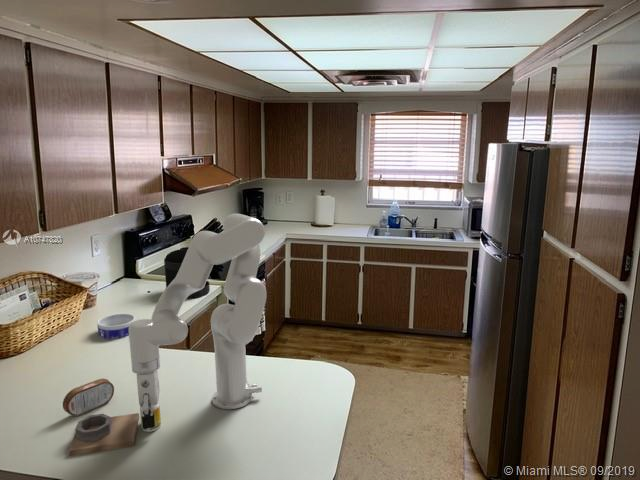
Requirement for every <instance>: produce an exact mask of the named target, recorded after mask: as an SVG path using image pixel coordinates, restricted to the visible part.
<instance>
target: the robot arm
mask: <svg viewBox="0 0 640 480" xmlns="http://www.w3.org/2000/svg"><path fill="white" fill-rule="evenodd" d="M222 225H223V227H222V228H223V231H222V232H219V233H216V232H213V231H210V230H201V231H198V232H197V233H195V234H194V236H193V238H192V239H191V241H190V243H189V246H188V247H189V248H188V250H187V253H186V255H185V257H184V260H183V262H182V264H181V267H180V269H179V271H178V274H177V276H176V277H175V279H174V280H173V281H172V282H171V283H170V284H169V286H168V287H167V288H166V287H165V289H164V290H163V291H162V293H161V295H160V297H159V298H158V301H157V302H156V305H155V308H154V310H153V312H152V316H151V319H149V318H142V319H138V320H136V321H134V322H133V323H131V324H130V326H129V336H128V340H129V341H128V342H129V351H130V359H131V360H130V362H131V371H132V372H133V374H136V384H137V395H138V404H139V407H140V406H141V407H142V424H143V429H147V428H154V427H155V418H154V414H153V405H157V404H158V402H159V401H160V392H161V389H160V379H159V371H158V370H159V369H160V368H161V360H160V359H161V357H160V347H159V346H167V345H168V346H169V345H177V344H180V343H182V342H183V341H184V340H185V339H186V338H187V336H188V334H189V328H188V325H187V324H186V322H185V321H184V320H183V319H182V318H180V316H178V315H179V312H180V310H181V309H182V306H183V304H184V302H185V301H186V300H187V299H188V298H187V297H188V296H189V295H191V294H192V293H194V292H197V291H199V290H201V289H203V288H204V286H205V284H206V281H208V279H209V276H210V274H211V272H212V270H213V267H214V265H216V266H218V265H222V264H225V263H227V262H229V261H230V265H229V269H228V271H227V275H226V279H225V281H224V286H223V293H224V294H225V296H226V298H228V300H230V301H231V302H233V303H234V304H231V303H223V304H220V305H218V306H217V307H215V309H213V311H212V314H211V316H210V327H211V333H212V339H213V346H214V360H215V361H214V362H215V365H214V367H215V381H216V383H215V384H216V392H214V393H213V395H212V404H213V405H214V406H215V407H216V408H218V409H221V410H236V409H240V408H242V407H245V406H247V405H248V404H249V403H250V402H251V401H252V400H253V394H255V393H262V392H263V391H262V388H263V387H262V385H259V386H258V385H257V383H253V384H252V383H251V384H250V383H248V380H247V379H248V378H247V357H246V356H247V355H246V345H248V344H249V343H250V342H252V340H253V339H254V338H255V336H256V335H257V332H258V329H259V326H260V323H261V319H262V317H263V313H264V309H265V304H266V302H267V288H266V286H265V284H264V283H263V282H262V281H261V280H260V279H258V278H257V274H258V269H259V265H260V260H261V247H260V244H261V243H262V241H263V240H264V238H265V235H266V229H265V226H264V224H263V222H261V221H260V220H259V219H258V218H256V217H254V216H253V217H252V216H248V215H245V214H243V213H242V214H241V213H231V214H229V215H227V216H226V217H225V218H224V221H223V224H222ZM149 402H151V404H149ZM150 406H151V410H150V409H149V407H150Z"/></svg>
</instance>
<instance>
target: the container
mask: <svg viewBox="0 0 640 480" xmlns="http://www.w3.org/2000/svg"><path fill="white" fill-rule="evenodd" d="M188 248H189V246H185V247H180V248H179V249H175V250H173V251H171V252H169V253H167V255H166V256H165V258H164V259H163V264H164V276H165V289H166V288H167V287H168V286H169V284H170V283H171V282H172V281H173V280H174V279H175V277H176V276H177V274H178V271H179V269H180V267H181V264H182V262H183V260H184V257H185V255H186V253H187V250H188ZM210 287H211V286H210V281H208V280H207V281H206V284H205V286H204V288H203V289H201V290H199V291H197V292H194V293H192V294H191V295H189V296H188V297H187V298H186V299H194V298H198V297H201V296H204V295H206V294H208V293H209V292H210V291H211V290H210V289H211V288H210Z"/></svg>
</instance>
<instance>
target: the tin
mask: <svg viewBox="0 0 640 480" xmlns="http://www.w3.org/2000/svg"><path fill="white" fill-rule="evenodd" d="M114 393H115V386H114V384H113V383H112V382H111V381H110V380H109V379H106V378H97V379H96V380H94V381H93V380H92V381H90V382H87V383H86V384H82V385H80V386H77V387H75V388H73V389H71V390H70V391H68V393H67V394H65V396H64V398H63V401H62V408H63V410H64V411H65V413H67V414H68V415H70V416H74V417H78V416H81V415H83V414H87V413H88V412H91V411H93V410H95V409H98V408H100V407H103V406H105V405H106V404H107V403H109V402H110V401H111V400H112V398H113V397H114Z"/></svg>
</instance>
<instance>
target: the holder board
mask: <svg viewBox="0 0 640 480" xmlns="http://www.w3.org/2000/svg"><path fill="white" fill-rule="evenodd" d="M139 420H140V412H139V413H138V412H137V413H129V414H123V415H117V416H109V415H107V414H105V413H98V414H90V415H87V416H86V417H85V418H82V419H81V420H79V421H77V424H76V426H75V435H74V437H73V439H72V443H70V447H69V450H68V451H69V452H68V454H69V457H70V456H77V455H83V454H89V453H90V454H92V453H96V452H101V451H103V452H104V451H108V450H115V449H122V448H128V447H135V440H136V436H137V431H138V426H139Z"/></svg>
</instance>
